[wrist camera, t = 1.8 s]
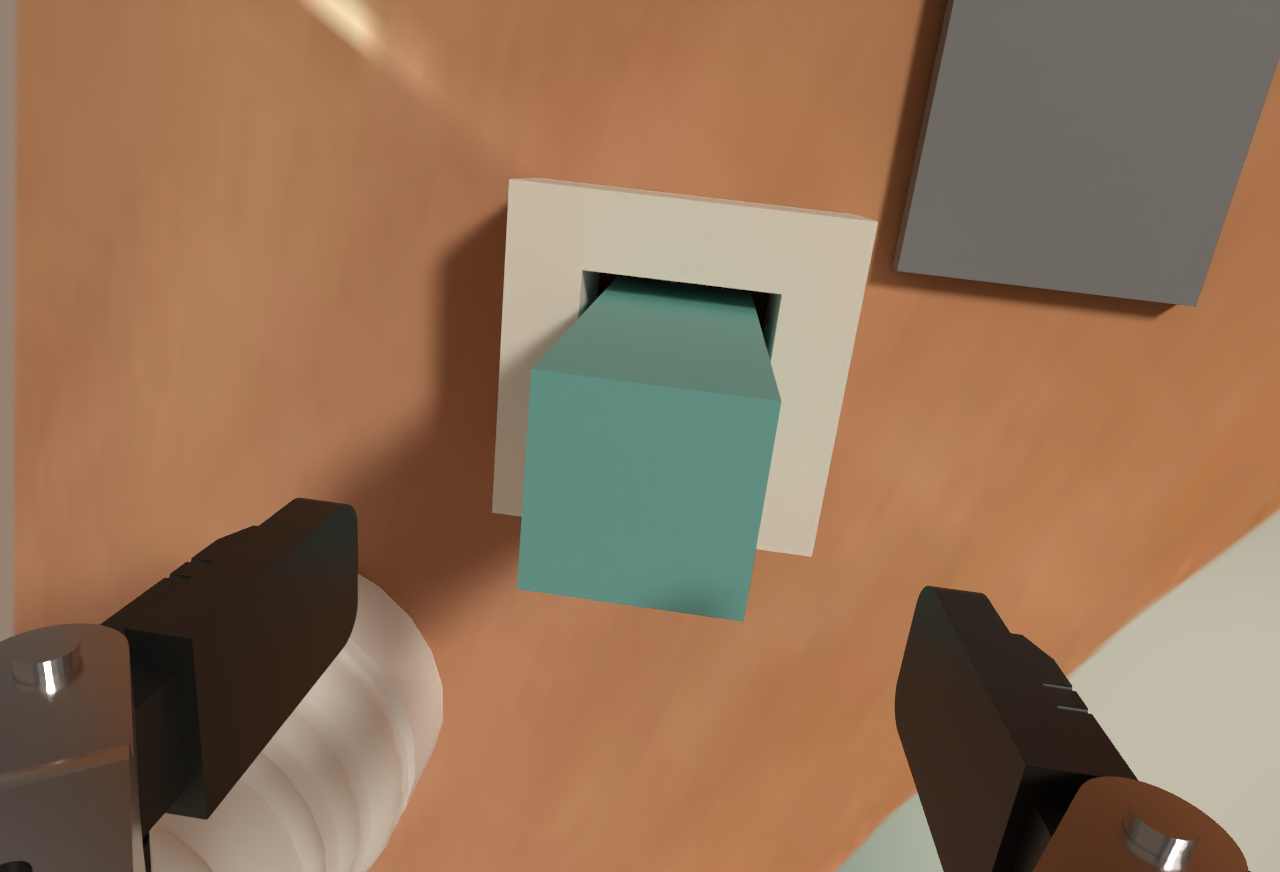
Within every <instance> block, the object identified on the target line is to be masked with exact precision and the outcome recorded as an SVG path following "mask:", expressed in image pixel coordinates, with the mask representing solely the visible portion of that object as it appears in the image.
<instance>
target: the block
mask: <svg viewBox="0 0 1280 872" xmlns="http://www.w3.org/2000/svg"><path fill="white" fill-rule="evenodd" d="M780 407H781V398H780V394H779V391H778V387H777V384H776V380H775V376H774V373H773V369H772V366H771V362H770V359H769V355H768V351H767V348H766V344H765V341H764V337H763V334H762V330H761V326H760V323H759V319H758V316H757V312H756V309H755V305H754V301H753V298H752V294H751V292H744V291H736V290H728V289H720V288H711V287H703V286H695V285H687V284H679V283H670V282H662V281H654V280H646V279H637V278H629V277H621V276H618V277H617V278H616V279H615V280H614V281H613V282H612V283H611V284H610V285H609V286H608V287H607V288H606V290H605V291H604V292H603V293H602V294H601V295H600V296H599V297H598V298H597V299H596V300H595V301H594V302H593V303H592V305H591V306H590V307H589V308H588V309H587V310H586V311H585V312H584V313H583V314H582V315H581V316H580V317H579V319H578V320H577V321H576V322H575V323H574V324H573V325H572V326H571V327H570V328H569V329H568V330H567V331H566V333H565V334H564V335H563V336H562V337H561V338H560V339H559V340H558V341H557V342H556V343H555V344H554V345H553V346H552V348H551V349H550V350H549V351H548V352H547V353H546V354H545V355H544V356H543V357H542V358H541V359H540V360H539V362H538V363H537V364H536V365H535V366H534V367H533V368H532V369H531V380H530V396H529V411H528V427H527V442H526V457H525V473H524V488H523V504H522V519H521V534H520V550H519V565H518V581H517V589H520V590H527V591H534V592H541V593H548V594H555V595H562V596H569V597H576V598H583V599H589V600H596V601H603V602H610V603H617V604H624V605H631V606H638V607H645V608H652V609H659V610H666V611H673V612H680V613H687V614H694V615H701V616H708V617H715V618H722V619H729V620H736V621H743V622H744V616H745V610H746V604H747V598H748V593H749V587H750V581H751V575H752V569H753V564H754V558H755V552H756V546H757V540H758V535H759V529H760V523H761V517H762V512H763V506H764V500H765V494H766V488H767V483H768V477H769V471H770V465H771V459H772V454H773V448H774V442H775V436H776V430H777V425H778V419H779V413H780Z"/></svg>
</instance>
